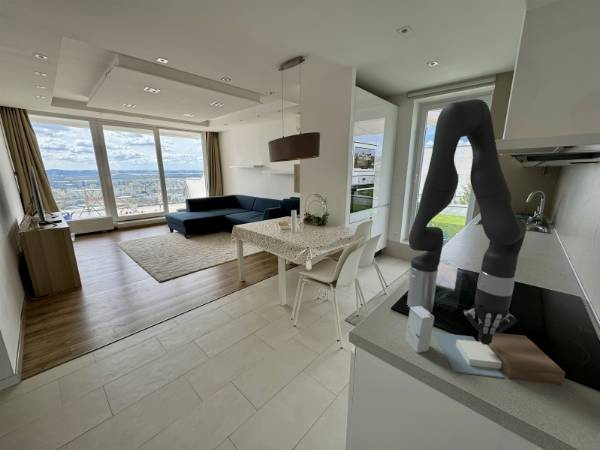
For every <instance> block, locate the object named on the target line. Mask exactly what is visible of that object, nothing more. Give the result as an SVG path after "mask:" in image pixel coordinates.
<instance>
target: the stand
mask: <svg viewBox="0 0 600 450" xmlns="http://www.w3.org/2000/svg"><path fill="white" fill-rule="evenodd" d="M488 346H489V348H490V349H491V350H492V351H493V352H494V354H495V355H496V356H497V357H498V358H499V359H500V361H501V362H502V366H501V369H500V370H501V371H502V372H503V373H502V374H504V375H505V376H506V378H507V379H508V380H514V381H523V382H529V383H536V384H545V385H553V386H560V387H562V386H563V383H564V380H565V376H566V371H564V370H563V369H562V367H560V366H559V365H558V364H557V363H555V361H553V359H551V358H550V357H549V356H548V355H547V354H546V353H545V352H544V351H542V349H541V348H539V346H537V344H535V343H534V342H533V341H532V340H531V339H529V338H528V337H527V336H526V335H521V334H512V333H511V334H510V333H503V332H502V333H498V332H497V333H494V334H493V337H492V342H491V343H489V345H488Z"/></svg>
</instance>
